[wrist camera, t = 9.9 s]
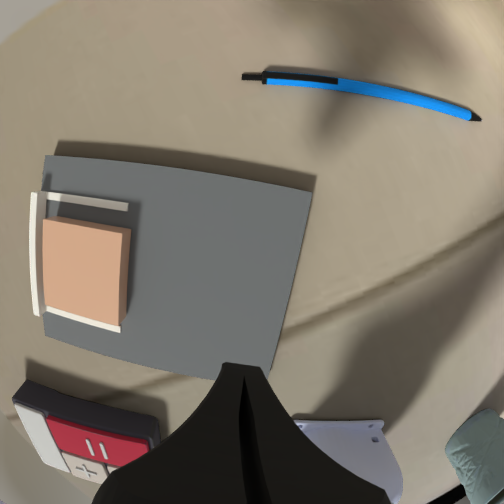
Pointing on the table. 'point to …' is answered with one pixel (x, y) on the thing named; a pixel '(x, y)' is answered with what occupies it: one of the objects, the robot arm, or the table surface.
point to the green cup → (480, 457)
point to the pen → (361, 90)
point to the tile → (86, 268)
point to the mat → (178, 261)
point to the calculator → (83, 432)
